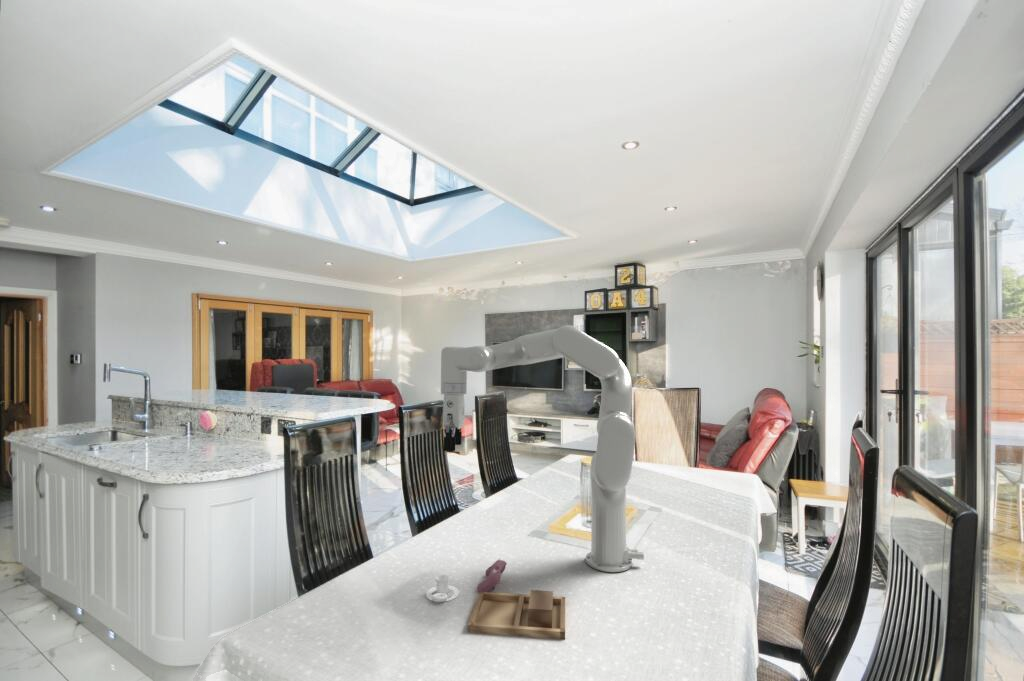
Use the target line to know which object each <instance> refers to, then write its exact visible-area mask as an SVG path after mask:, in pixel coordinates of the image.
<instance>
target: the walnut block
mask: <svg viewBox="0 0 1024 681" xmlns="http://www.w3.org/2000/svg"><path fill="white" fill-rule="evenodd" d="M529 592H530V593H529V595H530V599H529V606H528V627H540V628H552V618H553V596H554V591H553V590H542V589H541V590H540V589H530V591H529Z"/></svg>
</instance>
